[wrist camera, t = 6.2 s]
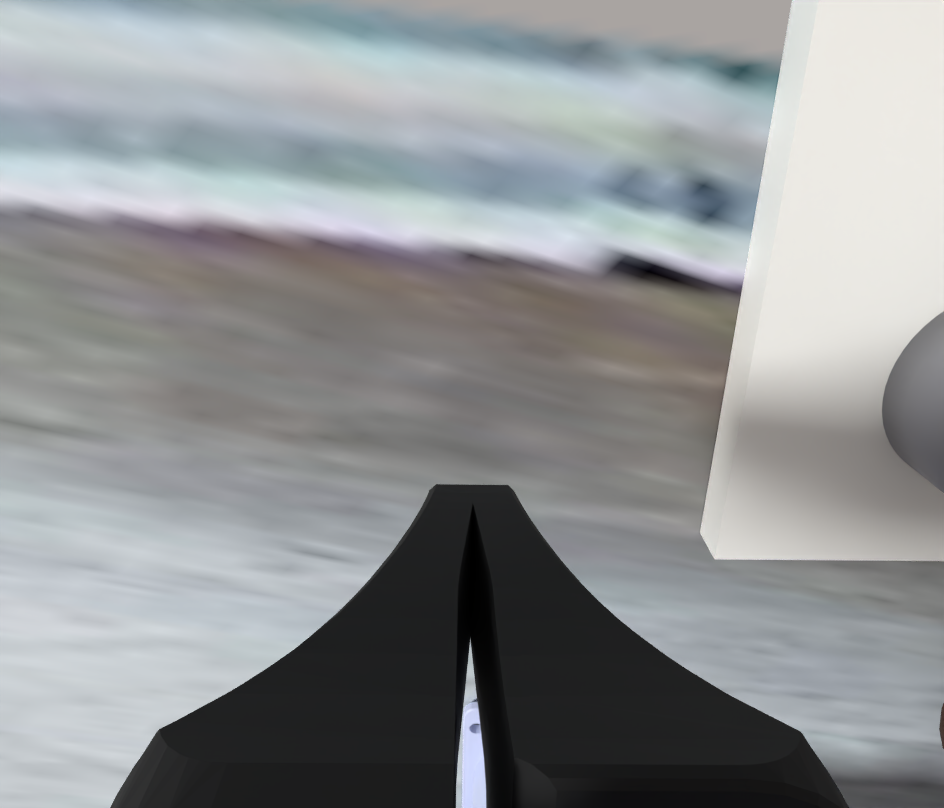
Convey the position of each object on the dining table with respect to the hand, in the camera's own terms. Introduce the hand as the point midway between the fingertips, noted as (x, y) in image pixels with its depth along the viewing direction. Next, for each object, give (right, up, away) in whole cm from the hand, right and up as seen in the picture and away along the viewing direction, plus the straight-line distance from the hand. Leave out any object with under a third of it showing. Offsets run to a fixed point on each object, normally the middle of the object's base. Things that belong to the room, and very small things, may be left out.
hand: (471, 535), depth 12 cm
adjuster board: (+15, +5, +9) cm, 18 cm away
